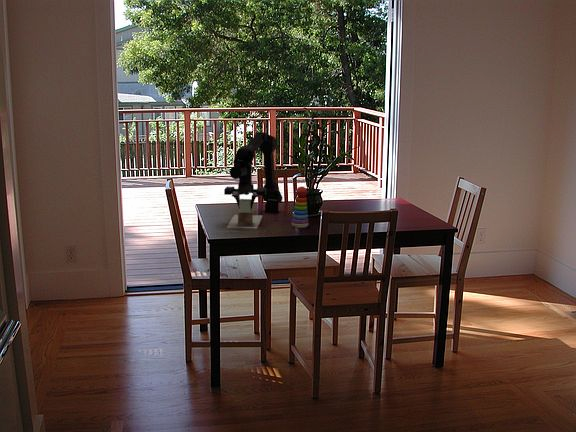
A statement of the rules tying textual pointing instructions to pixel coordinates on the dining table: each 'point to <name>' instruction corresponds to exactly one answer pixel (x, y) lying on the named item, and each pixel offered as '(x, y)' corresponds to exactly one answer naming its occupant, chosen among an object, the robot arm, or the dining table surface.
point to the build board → (234, 224)
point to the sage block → (245, 205)
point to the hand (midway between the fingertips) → (245, 209)
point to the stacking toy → (300, 209)
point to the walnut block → (245, 219)
